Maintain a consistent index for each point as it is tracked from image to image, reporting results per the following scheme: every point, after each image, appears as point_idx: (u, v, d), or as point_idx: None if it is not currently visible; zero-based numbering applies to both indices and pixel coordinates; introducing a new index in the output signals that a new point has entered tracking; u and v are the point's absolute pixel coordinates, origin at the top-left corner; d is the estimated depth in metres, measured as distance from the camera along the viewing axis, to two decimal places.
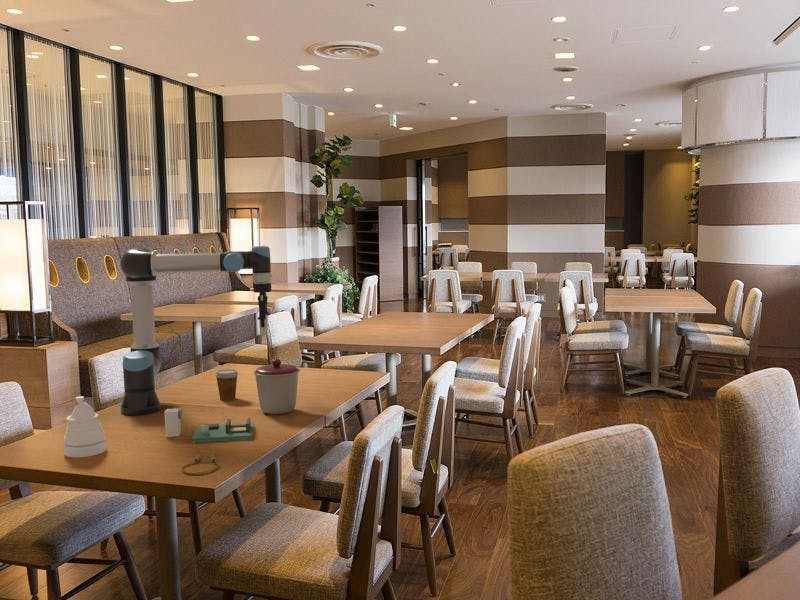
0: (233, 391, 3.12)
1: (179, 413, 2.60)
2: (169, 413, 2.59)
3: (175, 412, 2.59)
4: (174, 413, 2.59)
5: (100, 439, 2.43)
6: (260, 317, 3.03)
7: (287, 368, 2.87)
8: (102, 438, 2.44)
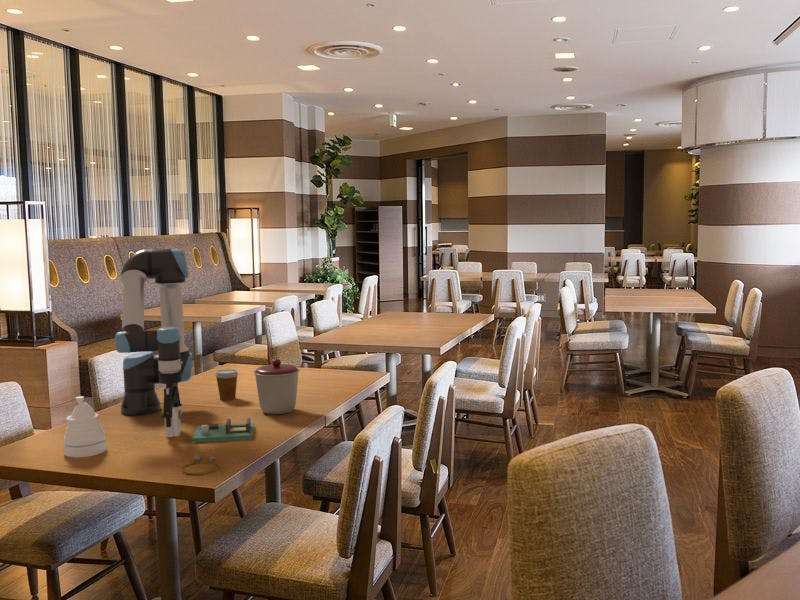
0: (233, 391, 3.12)
1: (179, 413, 2.60)
2: None
3: (175, 412, 2.59)
4: (174, 413, 2.59)
5: (100, 439, 2.43)
6: (164, 416, 2.51)
7: (287, 368, 2.87)
8: (102, 438, 2.44)
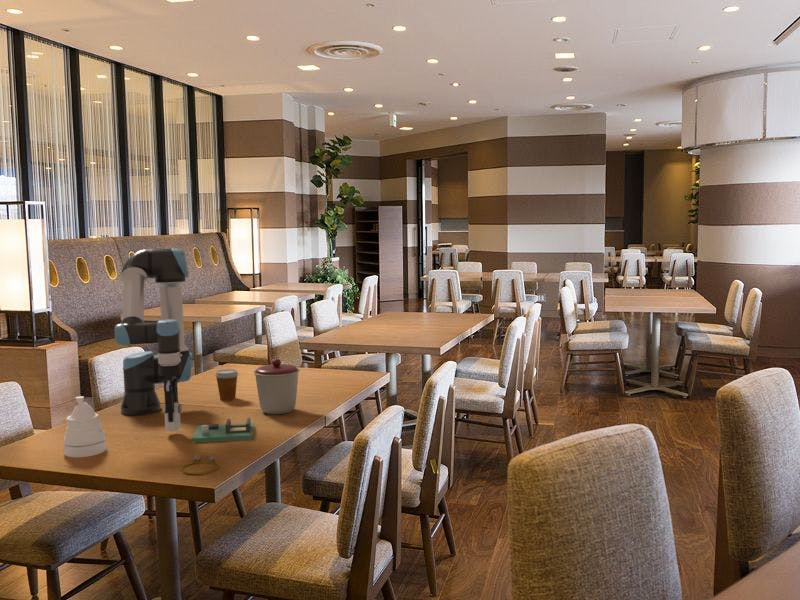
0: (233, 391, 3.12)
1: (179, 407, 2.60)
2: None
3: (175, 406, 2.59)
4: (174, 407, 2.59)
5: (100, 439, 2.43)
6: (167, 411, 2.55)
7: (287, 368, 2.87)
8: (102, 438, 2.44)
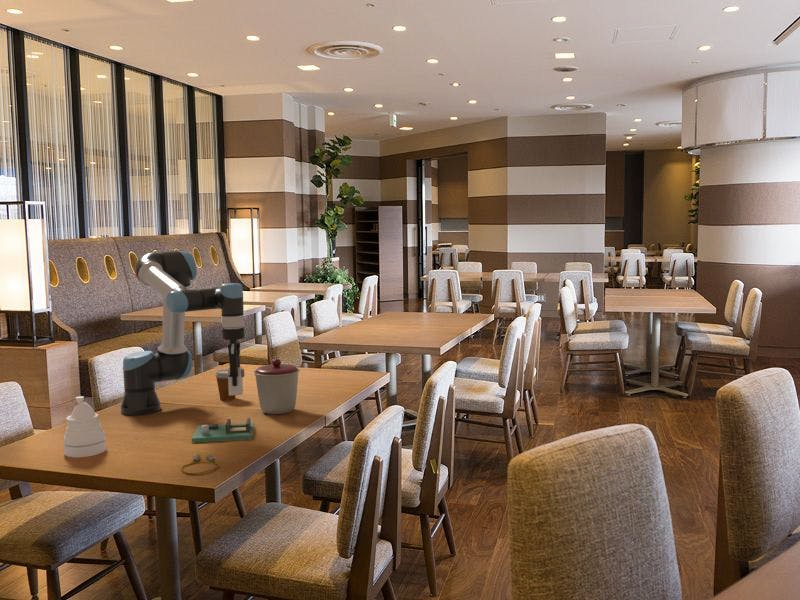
0: None
1: (242, 371, 2.58)
2: None
3: (238, 370, 2.57)
4: (238, 371, 2.57)
5: (100, 439, 2.43)
6: (231, 374, 2.54)
7: (287, 368, 2.87)
8: (102, 438, 2.44)
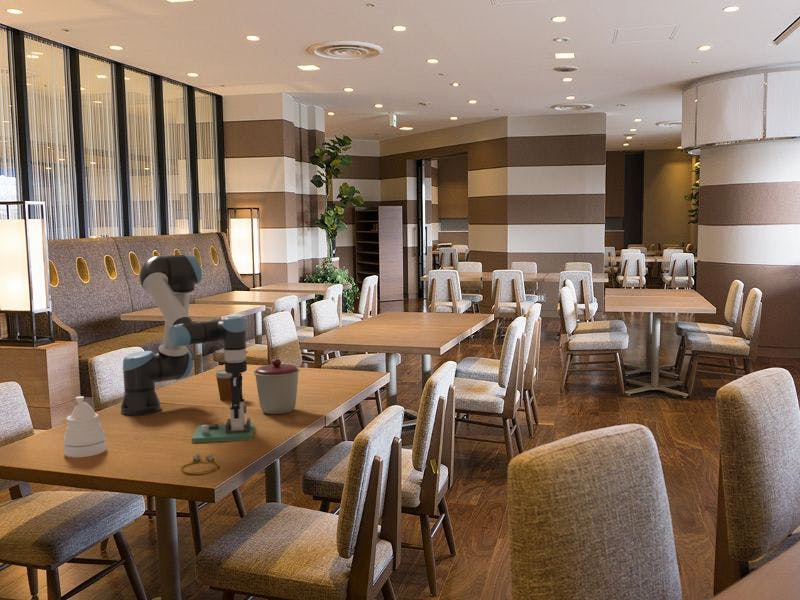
0: None
1: (244, 407, 2.60)
2: None
3: (241, 406, 2.59)
4: (240, 408, 2.59)
5: (100, 439, 2.43)
6: (233, 407, 2.53)
7: (287, 368, 2.87)
8: (102, 438, 2.44)
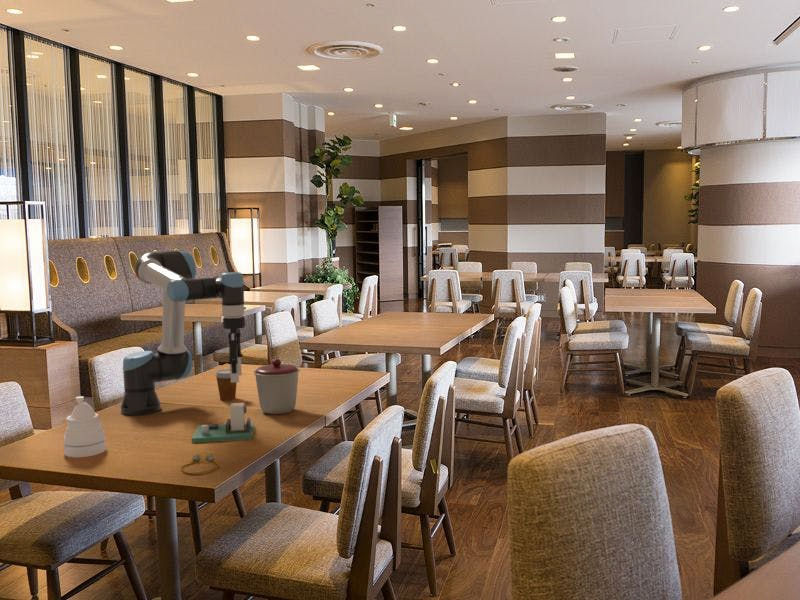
0: (233, 391, 3.12)
1: (244, 407, 2.60)
2: (235, 407, 2.59)
3: (241, 406, 2.59)
4: (240, 408, 2.59)
5: (100, 439, 2.43)
6: (231, 361, 2.50)
7: (287, 368, 2.87)
8: (102, 438, 2.44)
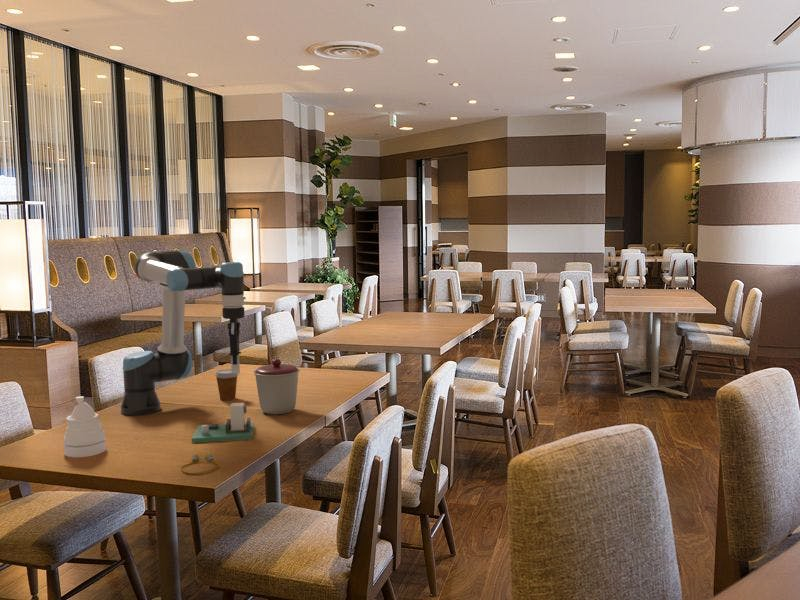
0: (233, 391, 3.12)
1: (244, 407, 2.60)
2: (235, 407, 2.59)
3: (241, 406, 2.59)
4: (240, 408, 2.59)
5: (100, 439, 2.43)
6: (232, 353, 2.55)
7: (287, 368, 2.87)
8: (102, 438, 2.44)
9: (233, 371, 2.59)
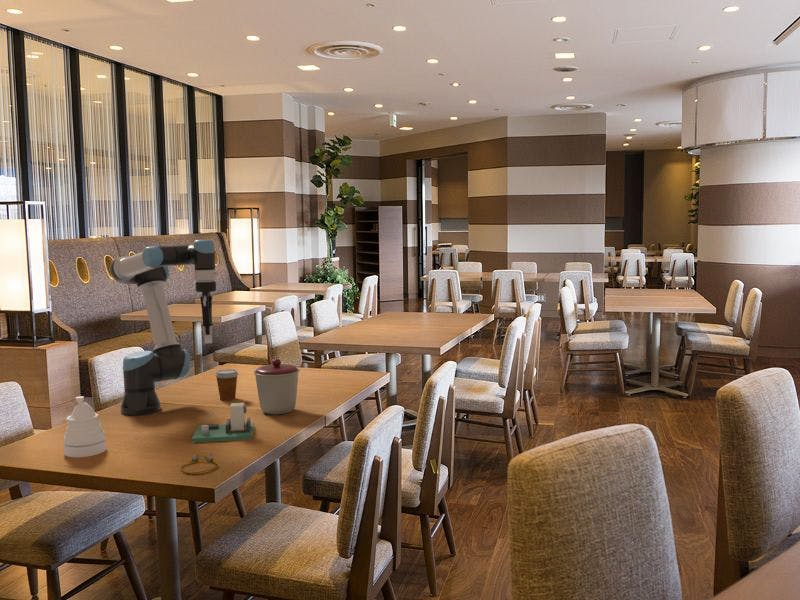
0: (233, 391, 3.12)
1: (244, 407, 2.60)
2: (235, 407, 2.59)
3: (241, 406, 2.59)
4: (240, 408, 2.59)
5: (100, 439, 2.43)
6: (204, 324, 2.75)
7: (287, 368, 2.87)
8: (102, 438, 2.44)
9: (206, 341, 2.79)
